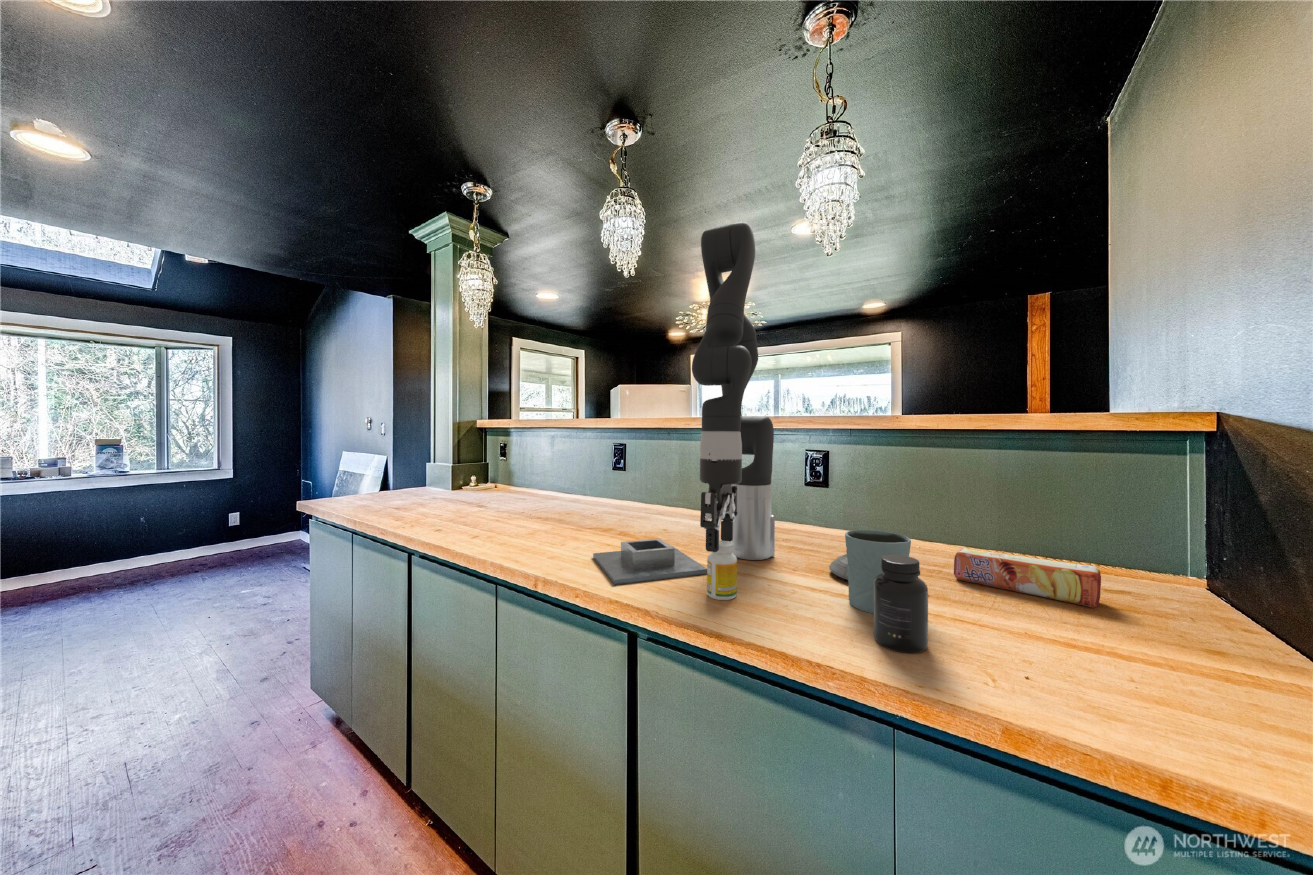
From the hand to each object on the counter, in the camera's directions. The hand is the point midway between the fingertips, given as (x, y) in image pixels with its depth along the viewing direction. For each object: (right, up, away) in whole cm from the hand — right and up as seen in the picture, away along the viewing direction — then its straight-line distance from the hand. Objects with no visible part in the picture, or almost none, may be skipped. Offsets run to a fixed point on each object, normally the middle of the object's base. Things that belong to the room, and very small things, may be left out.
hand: (719, 545), depth 83 cm
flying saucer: (+32, -9, +11) cm, 35 cm away
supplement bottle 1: (0, -9, 0) cm, 9 cm away
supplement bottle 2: (+23, -10, -18) cm, 31 cm away
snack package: (+57, -9, +3) cm, 58 cm away
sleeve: (-14, -9, +19) cm, 25 cm away
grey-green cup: (+27, -9, -4) cm, 28 cm away
